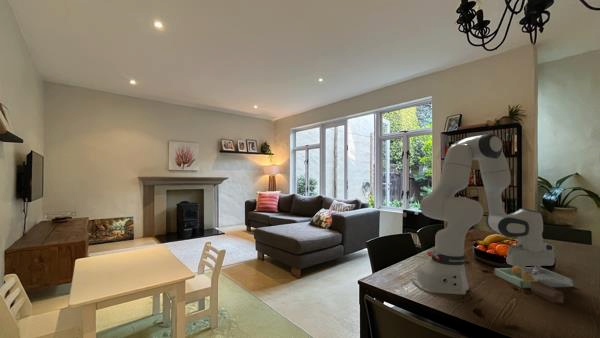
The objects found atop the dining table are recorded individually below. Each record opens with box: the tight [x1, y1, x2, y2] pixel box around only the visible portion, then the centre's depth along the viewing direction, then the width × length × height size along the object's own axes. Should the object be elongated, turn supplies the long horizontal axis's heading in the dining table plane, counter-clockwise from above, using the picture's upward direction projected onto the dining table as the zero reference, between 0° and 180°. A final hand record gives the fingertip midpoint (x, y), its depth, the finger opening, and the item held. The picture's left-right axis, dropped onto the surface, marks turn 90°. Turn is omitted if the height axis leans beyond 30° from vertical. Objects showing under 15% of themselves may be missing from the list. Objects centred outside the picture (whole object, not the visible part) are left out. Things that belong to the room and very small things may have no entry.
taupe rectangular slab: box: [530, 281, 564, 304], centre depth 103 cm, size 4×10×4 cm, turn 177°
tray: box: [493, 267, 539, 289], centre depth 118 cm, size 8×14×3 cm, turn 3°
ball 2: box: [522, 274, 534, 280], centre depth 115 cm, size 4×4×4 cm
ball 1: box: [511, 266, 522, 275], centre depth 123 cm, size 4×4×4 cm
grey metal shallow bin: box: [510, 266, 574, 288], centre depth 119 cm, size 15×14×3 cm
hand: (529, 274), depth 119 cm, fingers open, 3 cm apart
